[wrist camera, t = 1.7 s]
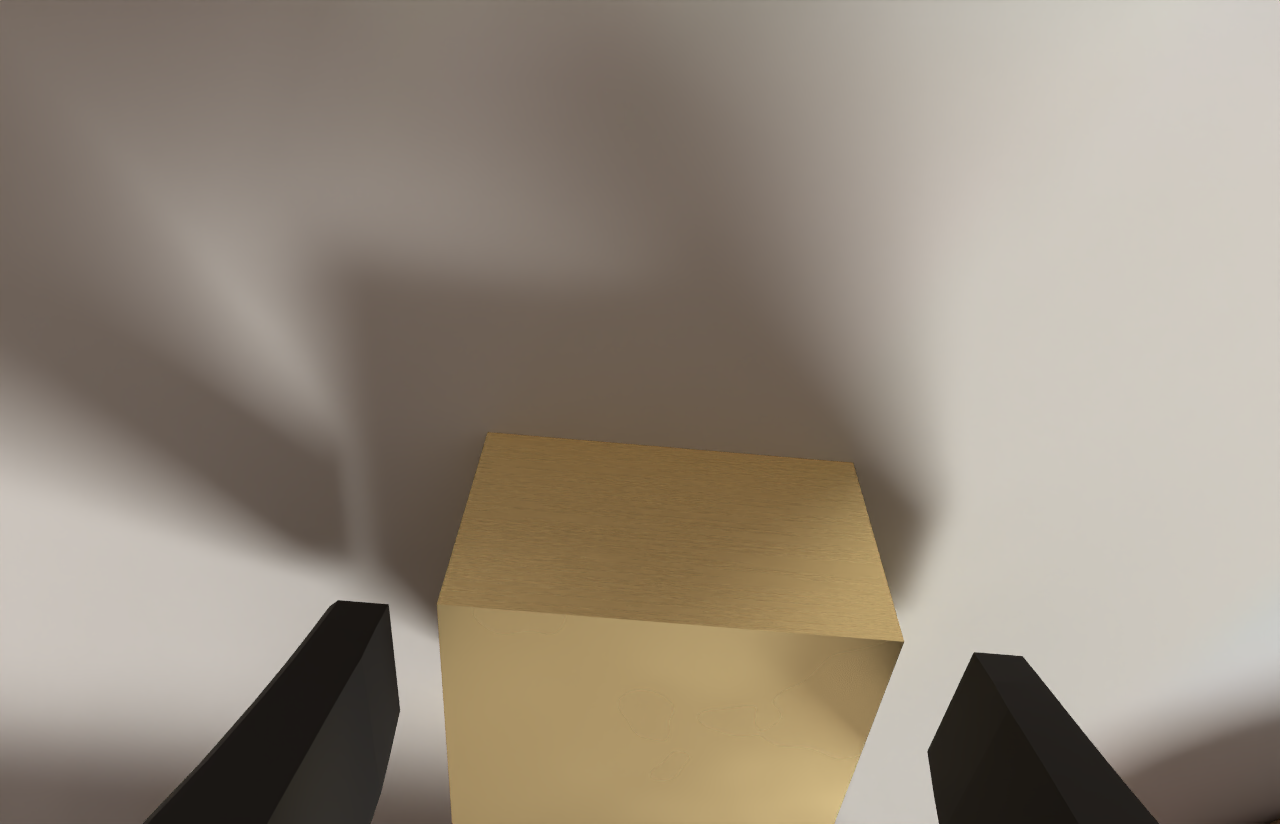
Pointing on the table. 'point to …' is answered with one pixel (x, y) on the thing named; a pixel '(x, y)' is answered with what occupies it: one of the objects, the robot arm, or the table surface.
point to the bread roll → (1276, 822)
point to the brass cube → (659, 636)
